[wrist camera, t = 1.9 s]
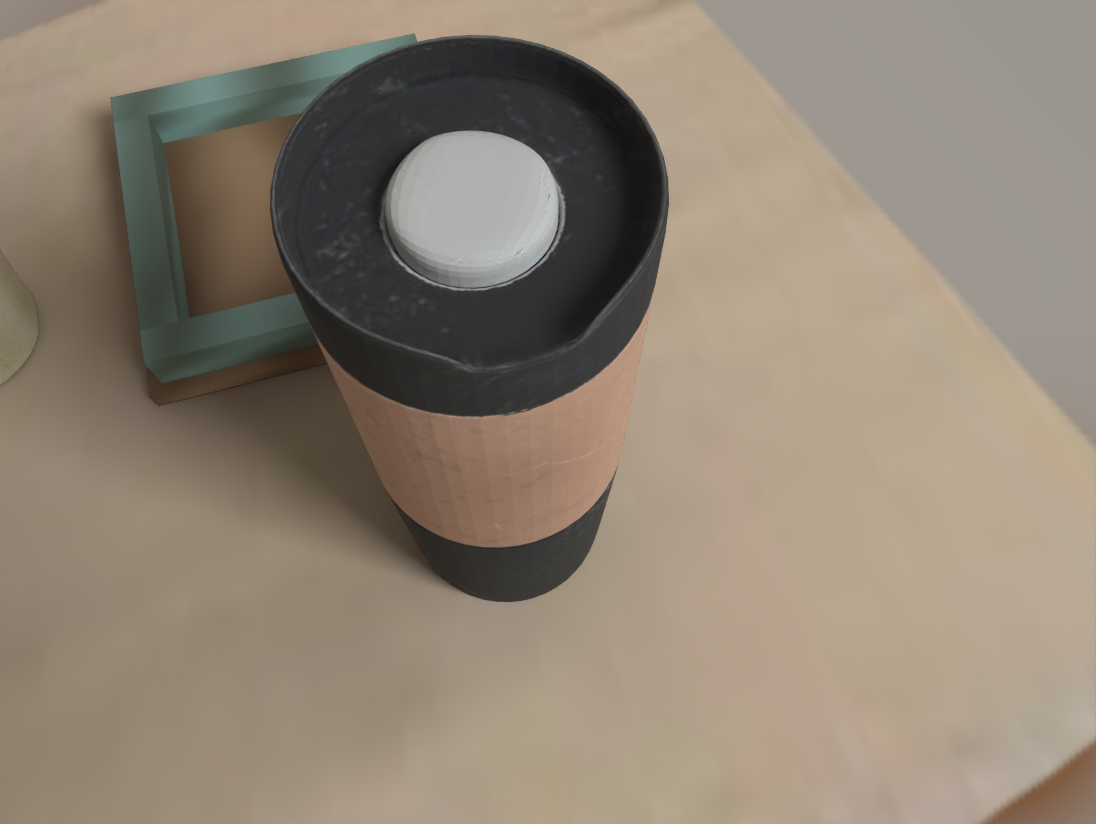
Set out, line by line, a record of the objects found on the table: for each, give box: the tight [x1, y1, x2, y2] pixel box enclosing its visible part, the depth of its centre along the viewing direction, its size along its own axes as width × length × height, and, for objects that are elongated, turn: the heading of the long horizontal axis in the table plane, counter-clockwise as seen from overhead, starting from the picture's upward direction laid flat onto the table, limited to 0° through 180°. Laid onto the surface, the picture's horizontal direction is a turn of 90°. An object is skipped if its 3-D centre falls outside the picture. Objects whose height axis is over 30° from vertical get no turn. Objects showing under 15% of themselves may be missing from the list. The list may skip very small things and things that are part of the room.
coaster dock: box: [110, 34, 417, 406], centre depth 39 cm, size 15×15×3 cm
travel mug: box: [270, 35, 669, 602], centre depth 25 cm, size 8×8×20 cm
